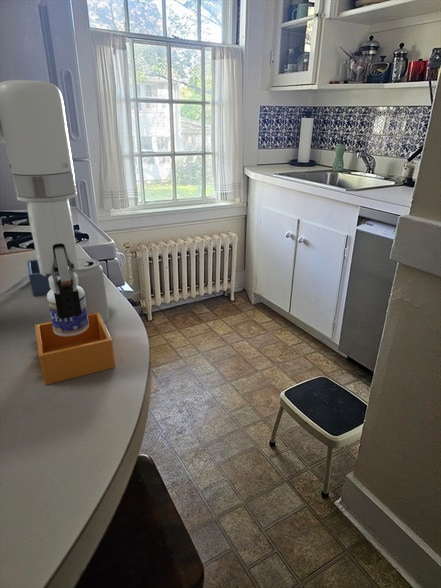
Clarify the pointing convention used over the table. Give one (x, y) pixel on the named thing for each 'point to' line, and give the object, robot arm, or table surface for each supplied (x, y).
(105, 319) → the beverage can
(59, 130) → the robot arm
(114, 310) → the table surface
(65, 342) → the amber bin
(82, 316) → the pill bottle
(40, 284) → the slate bin
